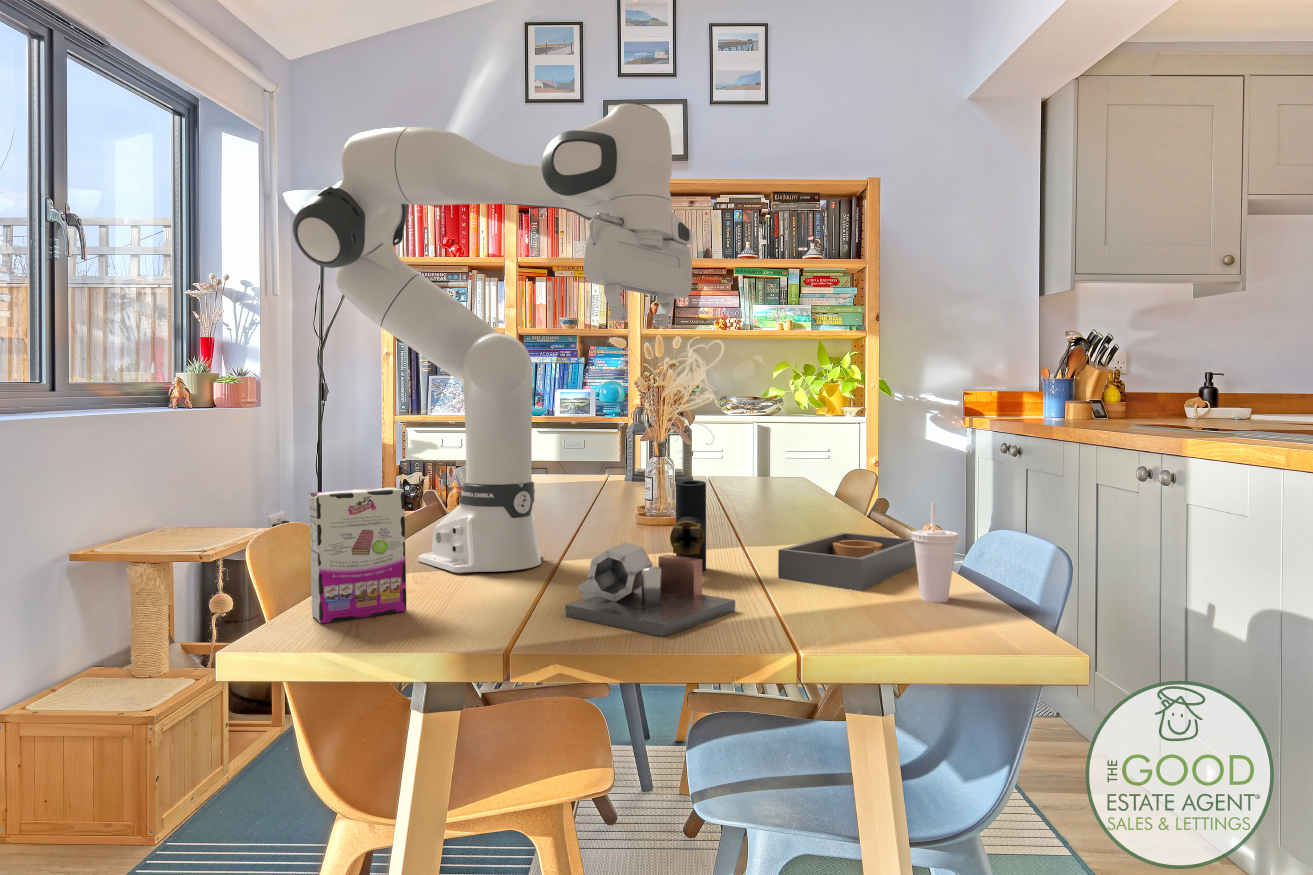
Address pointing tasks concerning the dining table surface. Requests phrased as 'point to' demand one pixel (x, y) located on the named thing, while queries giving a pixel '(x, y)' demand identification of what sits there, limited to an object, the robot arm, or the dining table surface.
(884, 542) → the parts corral
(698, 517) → the pipe connector
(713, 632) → the dining table surface
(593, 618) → the grey square stand
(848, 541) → the brown oblong hollow piece
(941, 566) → the smoothie
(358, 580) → the candy bar box
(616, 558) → the octagonal handled mug
